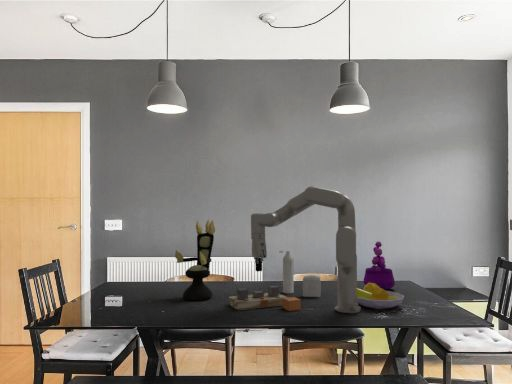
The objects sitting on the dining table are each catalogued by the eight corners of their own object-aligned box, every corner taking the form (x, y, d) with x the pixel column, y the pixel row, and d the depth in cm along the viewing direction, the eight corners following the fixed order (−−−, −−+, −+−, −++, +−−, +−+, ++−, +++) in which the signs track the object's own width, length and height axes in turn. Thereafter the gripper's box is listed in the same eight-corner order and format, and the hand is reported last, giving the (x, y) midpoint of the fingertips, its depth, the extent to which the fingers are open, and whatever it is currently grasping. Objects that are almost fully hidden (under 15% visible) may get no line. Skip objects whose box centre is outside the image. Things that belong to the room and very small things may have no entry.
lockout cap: (300, 309, 203) (300, 299, 203) (289, 311, 200) (289, 300, 200) (294, 306, 209) (294, 297, 209) (283, 308, 206) (283, 298, 206)
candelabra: (173, 299, 226) (174, 219, 228) (197, 292, 246) (197, 218, 247) (201, 303, 217) (201, 219, 219) (223, 295, 237) (223, 218, 238)
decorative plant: (399, 292, 242) (398, 242, 243) (368, 292, 243) (367, 242, 244) (389, 286, 261) (388, 240, 262) (360, 286, 261) (360, 240, 263)
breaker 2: (263, 302, 212) (263, 292, 212) (256, 303, 211) (256, 292, 211) (260, 300, 216) (260, 290, 217) (252, 301, 215) (252, 291, 215)
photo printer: (320, 295, 234) (320, 274, 234) (321, 297, 230) (320, 275, 230) (302, 295, 235) (302, 274, 235) (302, 297, 231) (302, 275, 231)
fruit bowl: (407, 303, 215) (407, 282, 216) (397, 315, 192) (397, 291, 192) (356, 297, 229) (356, 277, 230) (340, 308, 206) (340, 285, 206)
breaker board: (288, 305, 212) (288, 296, 212) (238, 310, 201) (238, 301, 201) (276, 299, 225) (276, 290, 226) (229, 304, 214) (229, 295, 214)
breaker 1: (248, 300, 209) (248, 289, 209) (240, 301, 207) (240, 290, 207) (244, 298, 213) (244, 288, 213) (237, 299, 211) (237, 289, 211)
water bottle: (294, 291, 246) (294, 250, 247) (292, 293, 239) (292, 251, 240) (280, 290, 248) (280, 250, 249) (278, 293, 242) (278, 251, 243)
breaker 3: (279, 297, 216) (278, 287, 216) (271, 298, 214) (271, 287, 214) (275, 295, 220) (275, 285, 220) (268, 296, 218) (268, 286, 218)
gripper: (270, 236, 209) (271, 272, 209) (258, 235, 223) (259, 268, 222) (257, 237, 206) (258, 273, 206) (246, 236, 220) (247, 269, 219)
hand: (258, 270), depth 214 cm, fingers closed
